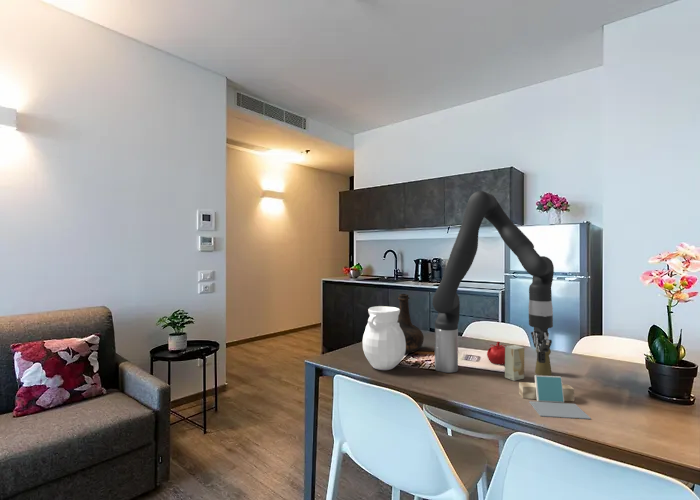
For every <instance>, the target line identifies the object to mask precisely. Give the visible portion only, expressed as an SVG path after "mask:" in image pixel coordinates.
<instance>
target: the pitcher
mask: <svg viewBox="0 0 700 500" xmlns="http://www.w3.org/2000/svg"><path fill="white" fill-rule="evenodd" d="M367 310H368V311H367V312H368V315H369V317H368V319H367V324H366V326H365V330H364V333H363V335H362V341H361V342H362V350H363V353H364V356H365V358H366V359H367V361H368V363H369V364H370V366H371V367H373V369H376V370H380V371H389V370H392V369H394V368H396V367H397V365H399V364H400V363H401V361H402V360H403V359H404V357H405V355H406V353H405V351H406V342H405V336H404V333H403V331H402V329H401V328H400V324H399V323H398V318H399V313H400V309H399V307H395V306H384V305H378V306H377V305H376V306H371V307H369V308H368V309H367Z"/></svg>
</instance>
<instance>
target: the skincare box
mask: <svg viewBox="0 0 700 500" xmlns="http://www.w3.org/2000/svg"><path fill="white" fill-rule="evenodd" d="M506 346H507V347H506ZM506 346H504V347H505V364H504V378H505V379H509V380H511V381H513V382H514V381H520V380H523V379H525V347H524V346H520V345H518V344H514V345H506Z"/></svg>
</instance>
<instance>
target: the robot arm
mask: <svg viewBox="0 0 700 500" xmlns="http://www.w3.org/2000/svg"><path fill="white" fill-rule="evenodd" d="M467 200H468V201H467V203H466V206H465V207H466V208H465V211H464V215H463V218H462V223H461V225H460V228H459V230H458V233H457V236H456V239H455V242H454V244H453V246H452V248H451V251H450V254H449V258H448V261H447V263H446V266H445V269H444V272H443V275H442V279H441V280H440V283H439V284H438V287H437V288H436V290H435V292H434V294H433V296H432V306H433V308H434V310H435V311H436V312H437V317H436V319H435V322H434V368H435V372H436V371H437V372H440V373H451V374H452V373H456V372H458V371H459V336H458V335H459V329H458V327H459V322H460V309H461V308H460V307H461V306H460V296H459V294H458V289H459V286H460V284H461V282H462V280H463V279H464V278H465V276H466V275H467V273H468V272H469V270H470V269H471V267H472V265H473V262H474V260H475V257H476V255H477V251H478V248H479V247H478V246H479V231H480V227H481V225H482V223H483V220H484V218H485V220H487V221H488V222H490V224H491V225H492V226H493V227H494V228H495V230H497V232H498V233H499V235H500V238H501V239H502V240H503V242H504V243H505V244H506V246H507V247H508V248H509V250H511V252H512V253H513V254H514V255H515V256H516V257H517V259H518V261H519V262H520V264H521V266H522V267H523V269H524V270H525V272H527V273H528V274H529V275H531V276H532V281H531V283H530V285H529V287H528V288H529V289H528V298H529V299H528V325H529V326H530V327H532V328H533V331H531V332H530V336H531V339H532V342H533V347H534V348H535V351H537V352H536V362H537V361H538V362H539V363H545V352H548V351H549V349H550V350H551V346H552V343H553V341H552V339H549V338H550V333H549V329H551V328H553V327H554V313H553V311H554V310H553V309H554V307H553V302H552V299H553V297H552V284H553V279H554V274H555V267H554V263H553V261H552V259H550V258H549V257H548V256H541V255H540V254H539V253H538V252H537V251H536V249H535V245H534V243H533V242H532V241H531V239H529V238H528V236H526V235H525V233H524V232H523V231H522V230H521V229H520V228H519V227H518V226H517V225H516V224H515V222H513V221H512V220H511V219H510V218H509V216H508V214H507V213H506V212H505V210H504V209H503V207H502V206H501V204H500V203H499V201H498V200H497V198H496V197H495V196H494V195H493V194H491V193H489V192H486V191H483V190H477V191H475V192H473V193H472V194H471V195H470V197H469V199H467Z"/></svg>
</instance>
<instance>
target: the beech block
mask: <svg viewBox="0 0 700 500" xmlns="http://www.w3.org/2000/svg"><path fill="white" fill-rule="evenodd" d="M562 387H563V396H564V402H565V401H567V402H575V388H574V387H572V386H571V385H570V384H566V383H565V384H564V383H562ZM518 393H519V396H521V398H522V399H526V400H527V399H528V400H537V397H536V387H535V382H527V381H526V382H522V381H519V382H518Z"/></svg>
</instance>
